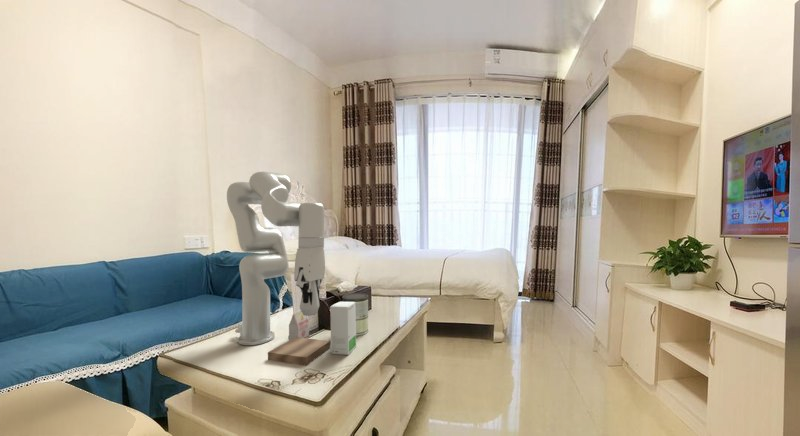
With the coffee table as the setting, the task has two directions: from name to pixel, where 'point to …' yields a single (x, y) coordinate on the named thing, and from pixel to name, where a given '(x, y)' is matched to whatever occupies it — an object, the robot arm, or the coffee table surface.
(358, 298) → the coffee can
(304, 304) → the salt shaker
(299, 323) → the tea bag
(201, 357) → the coffee table surface
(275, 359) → the walnut slab
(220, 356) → the coffee table surface
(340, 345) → the skincare box
